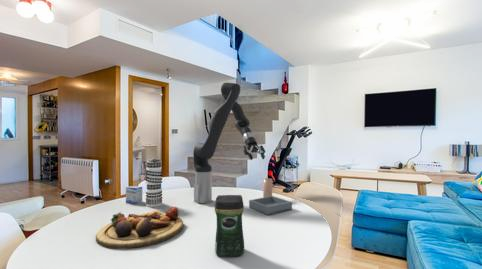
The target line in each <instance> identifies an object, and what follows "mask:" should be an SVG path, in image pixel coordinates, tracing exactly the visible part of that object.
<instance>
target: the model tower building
mask: <svg viewBox="0 0 482 269" xmlns="http://www.w3.org/2000/svg"><path fill="white" fill-rule="evenodd" d="M162 170H163V168H162V160H161V159H160V158H158V157H157V158H156V157H155V158H149V159H148V160H147V161H146V168H145V170H144V174H145V176H144V177H145V181H146V182H145V184H146V190H145V191H146V192H145V194H146V195H145V206H146V207H152V208H153V207H159V206H161V205H163V197H162V196H163V189H162V188H163V187H162V183H163V178H162V177H163V173H164V171H162Z"/></svg>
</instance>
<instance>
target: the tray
mask: <svg viewBox="0 0 482 269" xmlns="http://www.w3.org/2000/svg"><path fill="white" fill-rule="evenodd" d="M292 205H293V201H290V200H287V199H284V198H281V197H277V196H274V195H272V196H268V197H259V198H253V199H249V200H248V208H249V209H251V210H253V211H255V212H259V213H260V214H263V215H265V216H273V215H276V214H281V213H284V212H288V211H292V210H293V209H292V208H293V206H292Z"/></svg>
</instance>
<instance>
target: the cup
mask: <svg viewBox="0 0 482 269" xmlns="http://www.w3.org/2000/svg"><path fill="white" fill-rule="evenodd" d="M262 180H263V182H262V183H263V186H262V188H263V189H262V190H263V191H262V193H263V194H262V195H263V197H268V196H273V178H268V177H267V178H266V177H265V178H263V179H262ZM263 197H262V198H263Z"/></svg>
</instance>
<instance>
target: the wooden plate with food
mask: <svg viewBox="0 0 482 269" xmlns="http://www.w3.org/2000/svg"><path fill="white" fill-rule="evenodd" d="M110 221H111V222H110V223H108V224H106V225H104V226H102V227H101V228H100V229H99V230H98V231H97V232H96V234H95V241H96V242H97V244H98V245H100V244H101V246H102V245H103V246H102V247H105V246H106V247H105V248H108V247H109V249H118V248H121V249H122V248H126V249H136V248H141V247H147V246H151V245H155V244H159V243H161V242H164V241H166V240H168V239H169V240H170V239H171V238H172V237H174V236H176V235H177V234H178V233H179V232H180V231H182V229H183V227H184V221H183V219H182V218H181V217H180V216H179V208H178V207H177V206H172V207H170V208H169V209H168V210H167V211H165V212H164V213H162V212H161V211H159V210H152V211H148V212H147V213H142V214H133V213H129V214H128V216H126V217H125V214H124V213H123V212H117V213H115V214H113V215H112V218H111V219H110ZM121 249H120V250H121ZM122 250H123V249H122Z"/></svg>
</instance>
